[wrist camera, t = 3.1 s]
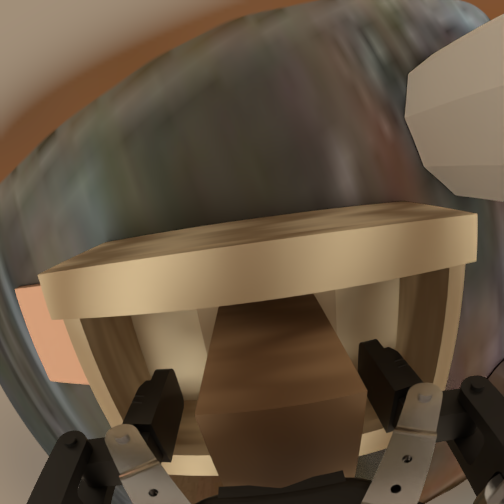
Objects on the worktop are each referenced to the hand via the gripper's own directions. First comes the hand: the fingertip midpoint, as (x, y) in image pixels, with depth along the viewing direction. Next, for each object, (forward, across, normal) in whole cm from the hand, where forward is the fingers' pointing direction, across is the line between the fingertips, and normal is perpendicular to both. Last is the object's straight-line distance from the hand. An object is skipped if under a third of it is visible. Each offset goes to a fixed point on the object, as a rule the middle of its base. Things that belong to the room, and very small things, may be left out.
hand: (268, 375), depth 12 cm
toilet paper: (+6, -15, -11) cm, 20 cm away
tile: (+6, +14, 0) cm, 15 cm away
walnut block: (+3, 0, 0) cm, 3 cm away
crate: (+6, 0, 0) cm, 6 cm away
